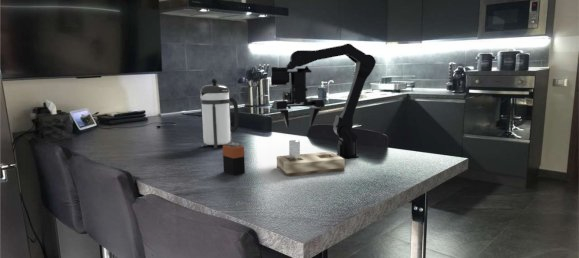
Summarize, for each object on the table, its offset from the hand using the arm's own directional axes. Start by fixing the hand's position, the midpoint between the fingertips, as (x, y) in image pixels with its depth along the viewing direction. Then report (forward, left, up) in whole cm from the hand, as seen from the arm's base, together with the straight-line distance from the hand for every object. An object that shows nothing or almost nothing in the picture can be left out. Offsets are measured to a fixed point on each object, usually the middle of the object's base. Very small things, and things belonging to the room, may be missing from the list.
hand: (299, 126), depth 149 cm
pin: (+7, +17, -11) cm, 22 cm away
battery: (+27, +12, -12) cm, 32 cm away
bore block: (+2, +17, -12) cm, 21 cm away
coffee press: (+26, -37, -12) cm, 47 cm away
